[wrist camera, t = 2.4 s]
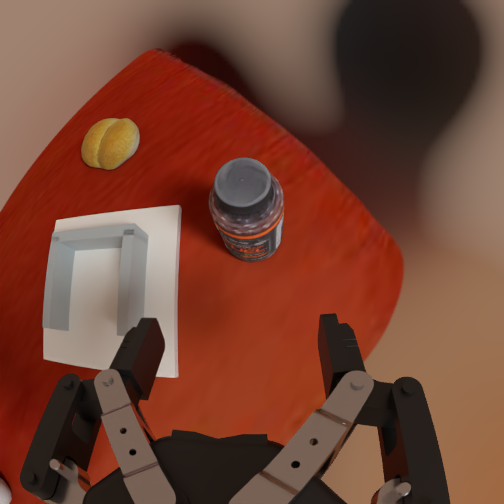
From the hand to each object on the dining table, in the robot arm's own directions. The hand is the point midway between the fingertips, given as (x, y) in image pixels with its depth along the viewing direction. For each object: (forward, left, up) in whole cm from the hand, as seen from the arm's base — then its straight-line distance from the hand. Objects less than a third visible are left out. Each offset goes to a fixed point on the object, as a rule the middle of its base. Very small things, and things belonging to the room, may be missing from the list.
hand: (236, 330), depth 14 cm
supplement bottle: (-5, +9, -15) cm, 18 cm away
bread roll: (-29, +12, -15) cm, 35 cm away
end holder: (-17, -4, -14) cm, 23 cm away
